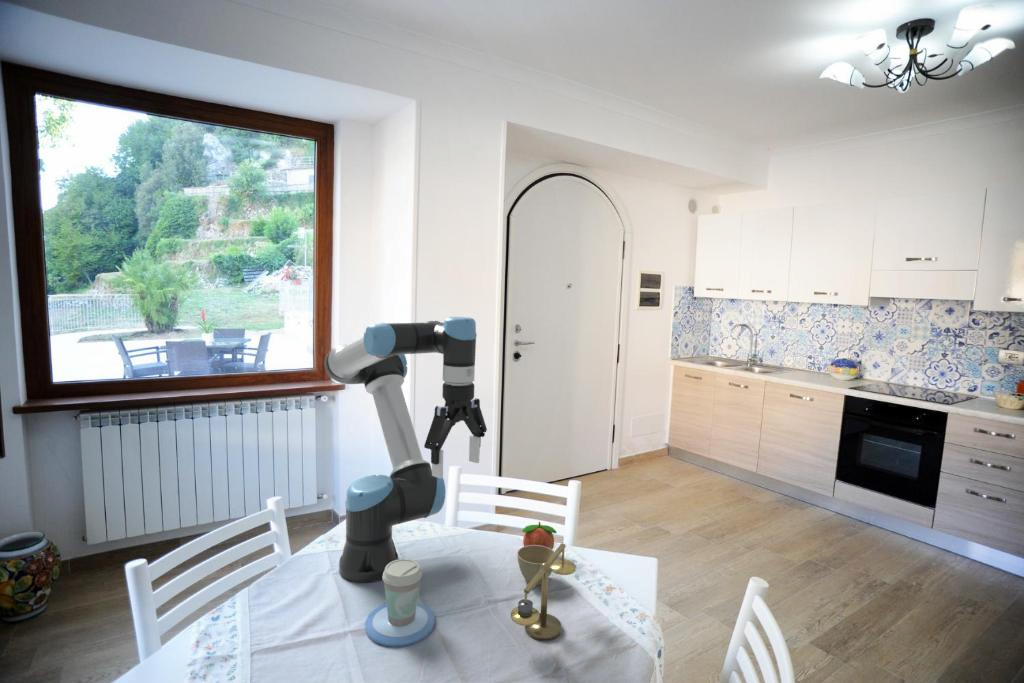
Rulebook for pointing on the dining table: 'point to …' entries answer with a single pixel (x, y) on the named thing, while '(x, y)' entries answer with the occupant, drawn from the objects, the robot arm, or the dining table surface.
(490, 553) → the dining table surface
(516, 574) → the dining table surface
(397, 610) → the coffee cup
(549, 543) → the fruit
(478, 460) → the robot arm
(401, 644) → the dish
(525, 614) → the balance
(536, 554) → the flower pot
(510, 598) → the dining table surface
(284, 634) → the dining table surface
